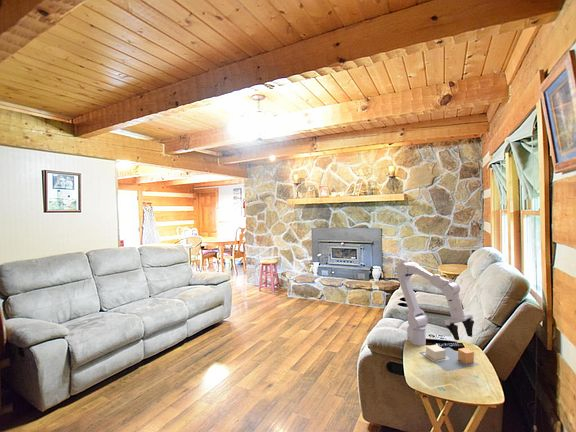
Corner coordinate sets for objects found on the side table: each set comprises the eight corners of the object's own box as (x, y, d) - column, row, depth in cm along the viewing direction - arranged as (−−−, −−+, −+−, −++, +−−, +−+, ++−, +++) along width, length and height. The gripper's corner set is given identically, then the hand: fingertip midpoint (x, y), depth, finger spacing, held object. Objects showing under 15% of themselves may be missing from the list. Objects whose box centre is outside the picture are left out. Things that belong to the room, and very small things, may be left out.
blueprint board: (419, 353, 152) (419, 352, 152) (449, 348, 157) (448, 347, 157) (446, 372, 135) (446, 371, 135) (479, 365, 139) (479, 364, 139)
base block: (426, 354, 150) (426, 346, 150) (436, 352, 152) (436, 344, 151) (435, 360, 144) (435, 351, 144) (445, 358, 146) (445, 350, 146)
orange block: (458, 359, 144) (458, 349, 144) (465, 357, 146) (465, 347, 145) (465, 364, 140) (465, 353, 140) (473, 362, 141) (473, 351, 141)
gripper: (449, 312, 139) (457, 343, 136) (474, 306, 143) (483, 336, 140) (438, 310, 145) (446, 340, 143) (463, 305, 149) (470, 333, 147)
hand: (463, 338), depth 142 cm, fingers open, 7 cm apart
